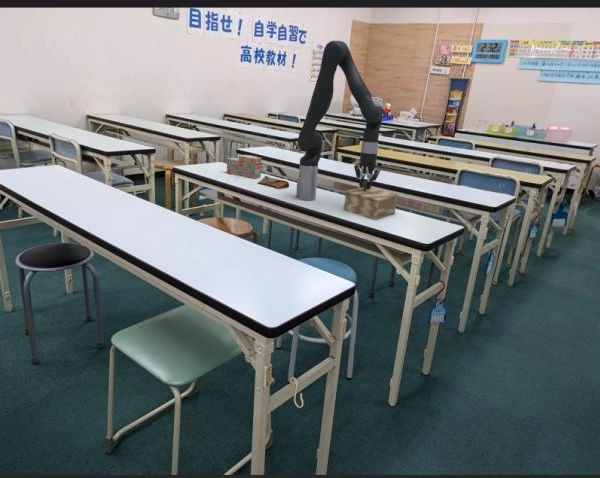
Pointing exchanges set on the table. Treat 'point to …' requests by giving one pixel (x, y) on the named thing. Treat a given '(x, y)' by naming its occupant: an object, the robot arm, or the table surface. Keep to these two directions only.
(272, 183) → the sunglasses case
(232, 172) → the stack of blocks
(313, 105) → the robot arm
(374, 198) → the box lid
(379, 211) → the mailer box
